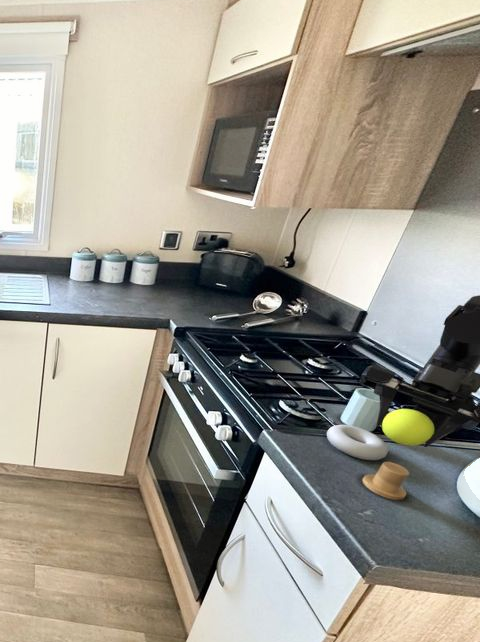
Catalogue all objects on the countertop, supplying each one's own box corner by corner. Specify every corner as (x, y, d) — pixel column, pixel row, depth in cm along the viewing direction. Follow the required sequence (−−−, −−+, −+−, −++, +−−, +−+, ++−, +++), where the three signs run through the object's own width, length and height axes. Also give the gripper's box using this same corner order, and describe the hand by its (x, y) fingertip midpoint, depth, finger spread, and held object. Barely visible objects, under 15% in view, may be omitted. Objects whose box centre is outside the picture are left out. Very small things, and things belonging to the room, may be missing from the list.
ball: (390, 424, 80) (408, 398, 76) (431, 448, 75) (452, 420, 71) (365, 432, 78) (382, 406, 75) (405, 457, 73) (426, 429, 70)
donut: (395, 466, 84) (359, 435, 93) (404, 453, 83) (367, 423, 92) (344, 461, 85) (313, 431, 94) (352, 449, 84) (319, 419, 92)
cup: (351, 414, 101) (366, 386, 97) (380, 429, 96) (397, 400, 92) (334, 418, 99) (349, 390, 96) (362, 433, 94) (379, 404, 90)
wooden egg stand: (375, 474, 82) (387, 454, 80) (412, 496, 77) (426, 476, 74) (354, 480, 80) (366, 460, 78) (391, 503, 75) (405, 482, 73)
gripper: (390, 327, 75) (340, 398, 76) (550, 373, 62) (488, 458, 63) (383, 350, 83) (338, 413, 84) (523, 394, 70) (469, 469, 71)
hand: (400, 435), depth 75 cm, fingers closed on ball, 6 cm apart
